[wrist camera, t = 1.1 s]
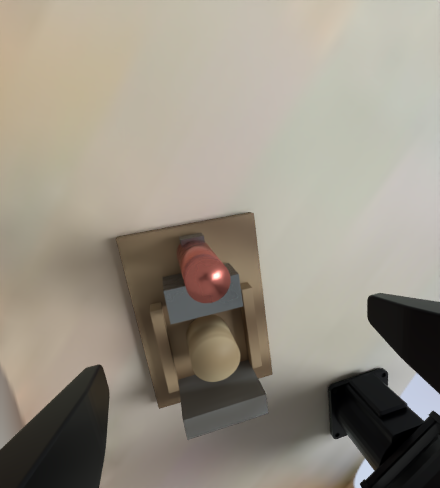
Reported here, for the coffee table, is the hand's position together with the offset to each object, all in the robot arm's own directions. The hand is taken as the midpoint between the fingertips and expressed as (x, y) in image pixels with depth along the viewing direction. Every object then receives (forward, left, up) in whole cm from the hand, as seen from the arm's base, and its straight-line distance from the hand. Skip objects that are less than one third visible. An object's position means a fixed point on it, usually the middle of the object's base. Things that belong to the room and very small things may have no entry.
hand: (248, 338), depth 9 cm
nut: (-7, 0, -12) cm, 14 cm away
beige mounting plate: (-5, 0, -13) cm, 14 cm away
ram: (-1, 0, -12) cm, 12 cm away
